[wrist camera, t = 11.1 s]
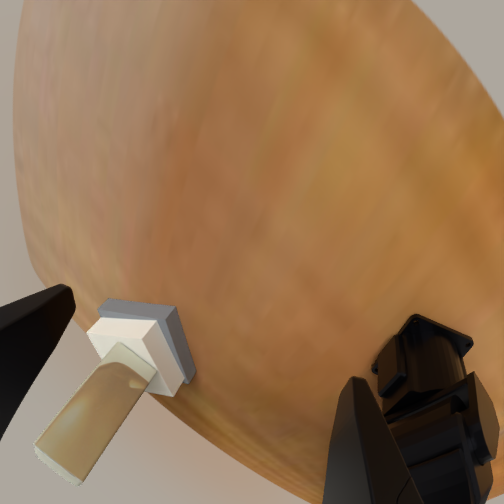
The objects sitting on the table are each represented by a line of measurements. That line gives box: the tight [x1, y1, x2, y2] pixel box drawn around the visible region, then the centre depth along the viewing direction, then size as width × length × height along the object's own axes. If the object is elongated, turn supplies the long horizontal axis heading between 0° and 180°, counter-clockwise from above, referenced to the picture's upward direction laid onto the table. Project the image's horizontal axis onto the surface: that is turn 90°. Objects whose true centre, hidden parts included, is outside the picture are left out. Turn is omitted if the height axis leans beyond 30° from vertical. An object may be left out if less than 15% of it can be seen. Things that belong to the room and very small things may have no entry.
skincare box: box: [34, 342, 157, 487], centre depth 21 cm, size 6×4×12 cm
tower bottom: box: [97, 298, 196, 384], centre depth 30 cm, size 8×8×2 cm
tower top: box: [87, 317, 185, 397], centre depth 27 cm, size 7×7×2 cm
